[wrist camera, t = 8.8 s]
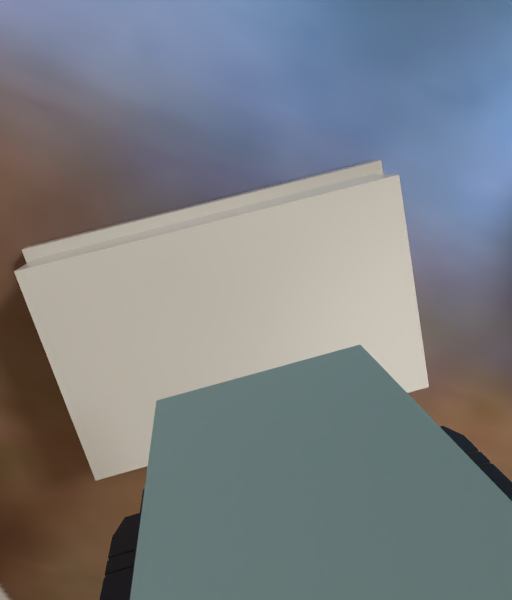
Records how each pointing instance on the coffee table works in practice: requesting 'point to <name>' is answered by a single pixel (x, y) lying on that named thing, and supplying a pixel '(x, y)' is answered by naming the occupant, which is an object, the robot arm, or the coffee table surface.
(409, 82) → the coffee table surface
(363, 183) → the plinth
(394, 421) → the block
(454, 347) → the coffee table surface
